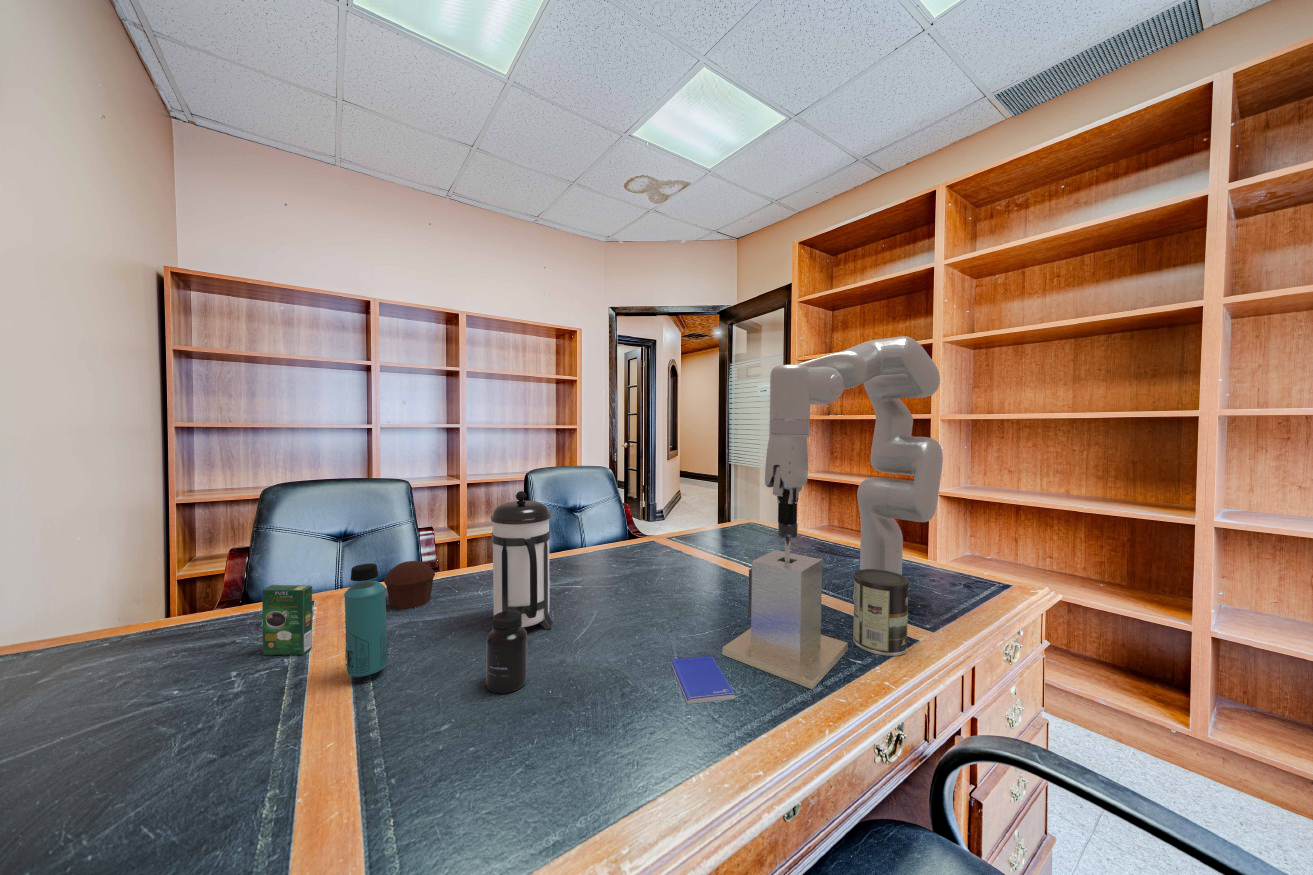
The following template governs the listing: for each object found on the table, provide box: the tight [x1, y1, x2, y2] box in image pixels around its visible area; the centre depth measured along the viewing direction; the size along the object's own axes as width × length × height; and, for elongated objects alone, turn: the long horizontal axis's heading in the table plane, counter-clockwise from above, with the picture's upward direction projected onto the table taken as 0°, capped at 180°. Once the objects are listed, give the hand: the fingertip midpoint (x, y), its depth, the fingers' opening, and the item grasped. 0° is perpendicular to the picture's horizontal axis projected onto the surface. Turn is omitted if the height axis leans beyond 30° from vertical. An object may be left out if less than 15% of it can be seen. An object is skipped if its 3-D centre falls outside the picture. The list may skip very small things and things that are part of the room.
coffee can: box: [852, 569, 910, 657], centre depth 96 cm, size 10×10×14 cm
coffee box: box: [261, 584, 313, 656], centre depth 92 cm, size 8×3×13 cm, turn 92°
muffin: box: [383, 560, 436, 610], centre depth 117 cm, size 12×11×10 cm
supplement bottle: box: [485, 611, 528, 695], centre depth 81 cm, size 7×7×12 cm
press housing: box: [722, 549, 849, 690], centre depth 92 cm, size 18×18×18 cm
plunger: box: [777, 521, 799, 563], centre depth 92 cm, size 7×7×16 cm
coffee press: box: [490, 490, 554, 631], centre depth 103 cm, size 17×16×30 cm
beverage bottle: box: [343, 563, 389, 678], centre depth 83 cm, size 6×7×20 cm
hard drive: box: [670, 655, 736, 705], centre depth 83 cm, size 2×8×12 cm
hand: (787, 522), depth 91 cm, fingers closed
